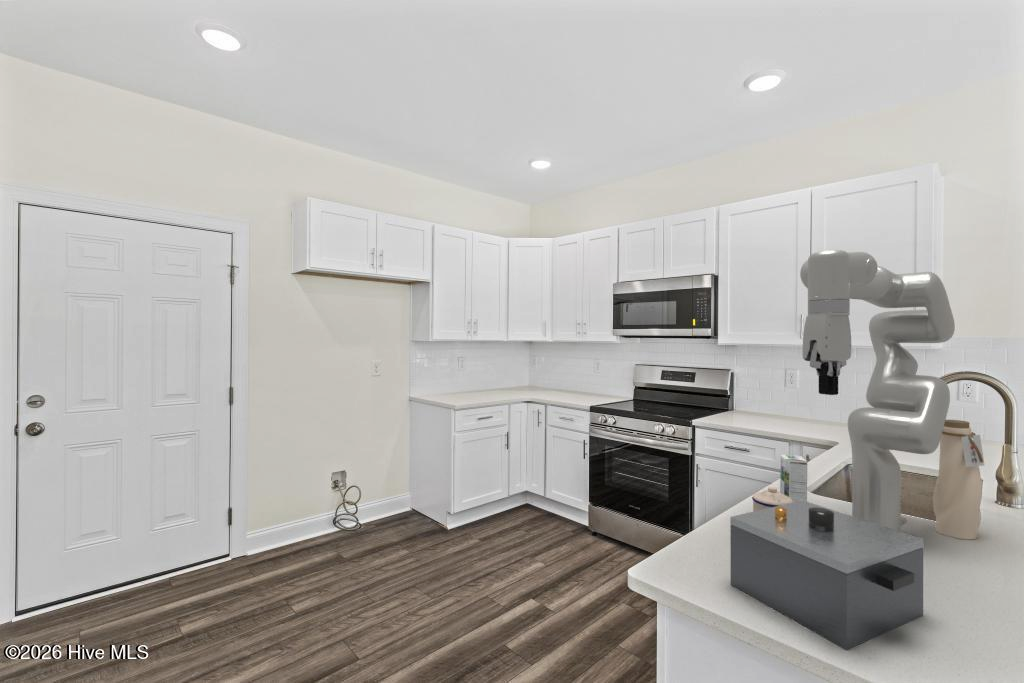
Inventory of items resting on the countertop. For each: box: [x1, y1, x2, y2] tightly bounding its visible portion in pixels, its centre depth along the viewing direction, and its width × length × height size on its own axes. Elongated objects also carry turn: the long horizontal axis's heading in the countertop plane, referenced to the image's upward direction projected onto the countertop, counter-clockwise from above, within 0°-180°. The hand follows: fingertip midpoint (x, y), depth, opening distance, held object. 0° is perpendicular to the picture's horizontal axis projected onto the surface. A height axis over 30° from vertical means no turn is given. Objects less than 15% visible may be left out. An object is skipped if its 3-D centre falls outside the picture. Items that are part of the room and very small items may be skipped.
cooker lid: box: [729, 500, 924, 574], centre depth 90 cm, size 22×22×4 cm
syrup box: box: [779, 454, 808, 502], centre depth 138 cm, size 6×6×14 cm
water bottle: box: [932, 419, 985, 540], centre depth 118 cm, size 10×9×28 cm
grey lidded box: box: [729, 524, 924, 651], centre depth 90 cm, size 22×27×12 cm
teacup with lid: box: [751, 486, 793, 512], centre depth 120 cm, size 12×9×12 cm
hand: (828, 394), depth 103 cm, fingers closed
